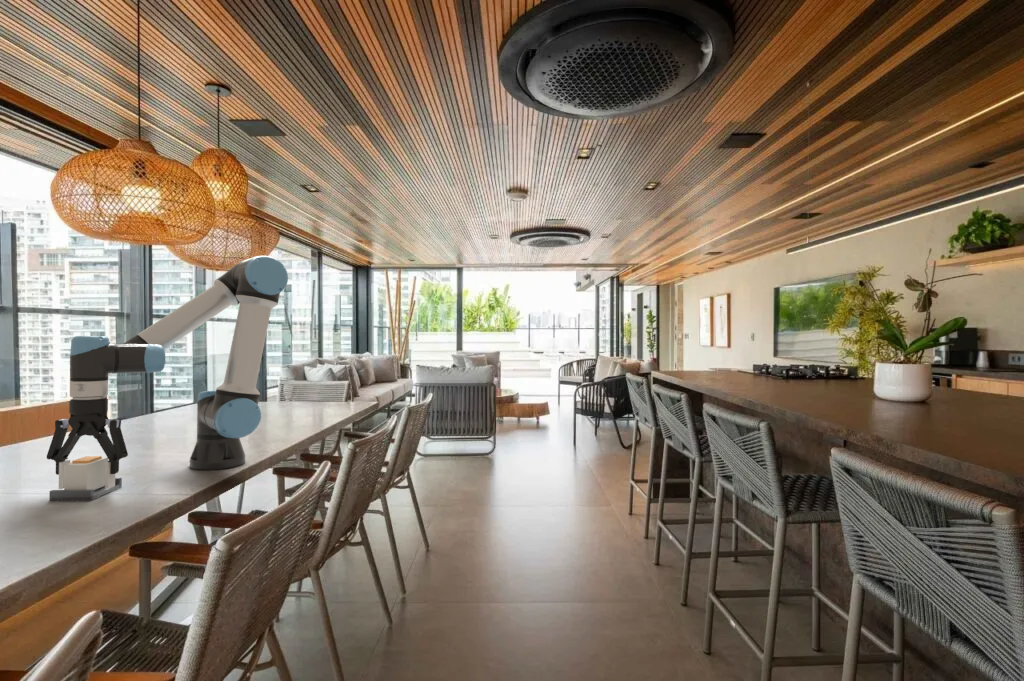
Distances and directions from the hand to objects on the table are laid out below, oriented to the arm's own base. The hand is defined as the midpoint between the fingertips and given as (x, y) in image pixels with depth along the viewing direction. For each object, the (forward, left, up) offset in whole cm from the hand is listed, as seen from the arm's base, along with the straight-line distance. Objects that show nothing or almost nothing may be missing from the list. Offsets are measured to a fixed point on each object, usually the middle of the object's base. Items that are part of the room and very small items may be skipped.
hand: (87, 487), depth 132 cm
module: (0, 0, 0) cm, 0 cm away
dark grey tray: (0, 0, -2) cm, 2 cm away
